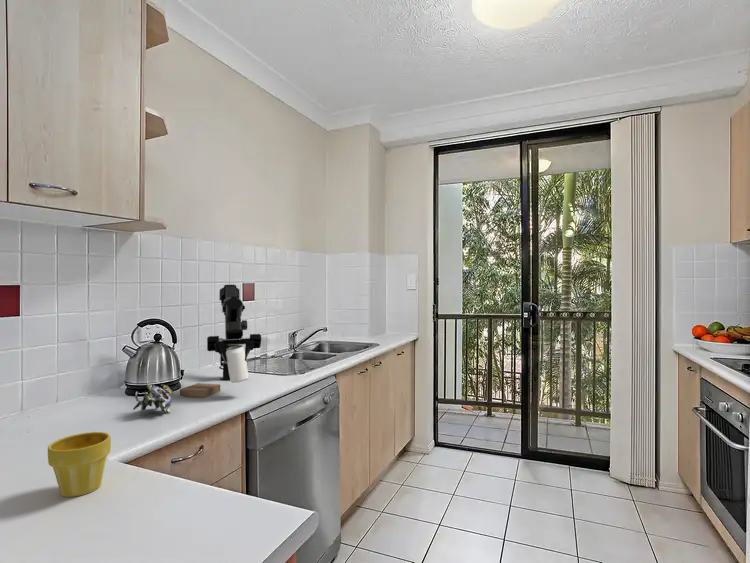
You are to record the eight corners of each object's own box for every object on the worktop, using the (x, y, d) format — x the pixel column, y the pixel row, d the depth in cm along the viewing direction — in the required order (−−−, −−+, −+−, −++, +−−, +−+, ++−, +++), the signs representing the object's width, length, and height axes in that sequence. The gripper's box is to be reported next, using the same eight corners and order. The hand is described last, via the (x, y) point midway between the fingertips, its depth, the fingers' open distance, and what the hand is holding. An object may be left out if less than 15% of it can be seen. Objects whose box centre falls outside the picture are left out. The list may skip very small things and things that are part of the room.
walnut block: (197, 390, 166) (197, 383, 166) (220, 392, 164) (220, 384, 164) (179, 397, 157) (179, 389, 157) (203, 399, 154) (203, 390, 154)
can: (245, 381, 151) (239, 348, 150) (227, 383, 152) (221, 350, 151) (251, 375, 158) (246, 344, 157) (234, 377, 158) (229, 346, 157)
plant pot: (40, 507, 79) (40, 453, 79) (56, 483, 88) (55, 435, 88) (106, 495, 83) (106, 445, 83) (114, 474, 92) (114, 428, 93)
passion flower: (167, 430, 136) (174, 404, 131) (128, 429, 131) (134, 402, 126) (169, 402, 145) (176, 377, 140) (133, 400, 140) (139, 374, 135)
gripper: (207, 313, 154) (207, 349, 144) (260, 312, 161) (264, 346, 151) (207, 333, 161) (207, 368, 151) (258, 330, 168) (262, 364, 158)
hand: (235, 361), depth 153 cm, fingers closed on can, 6 cm apart
